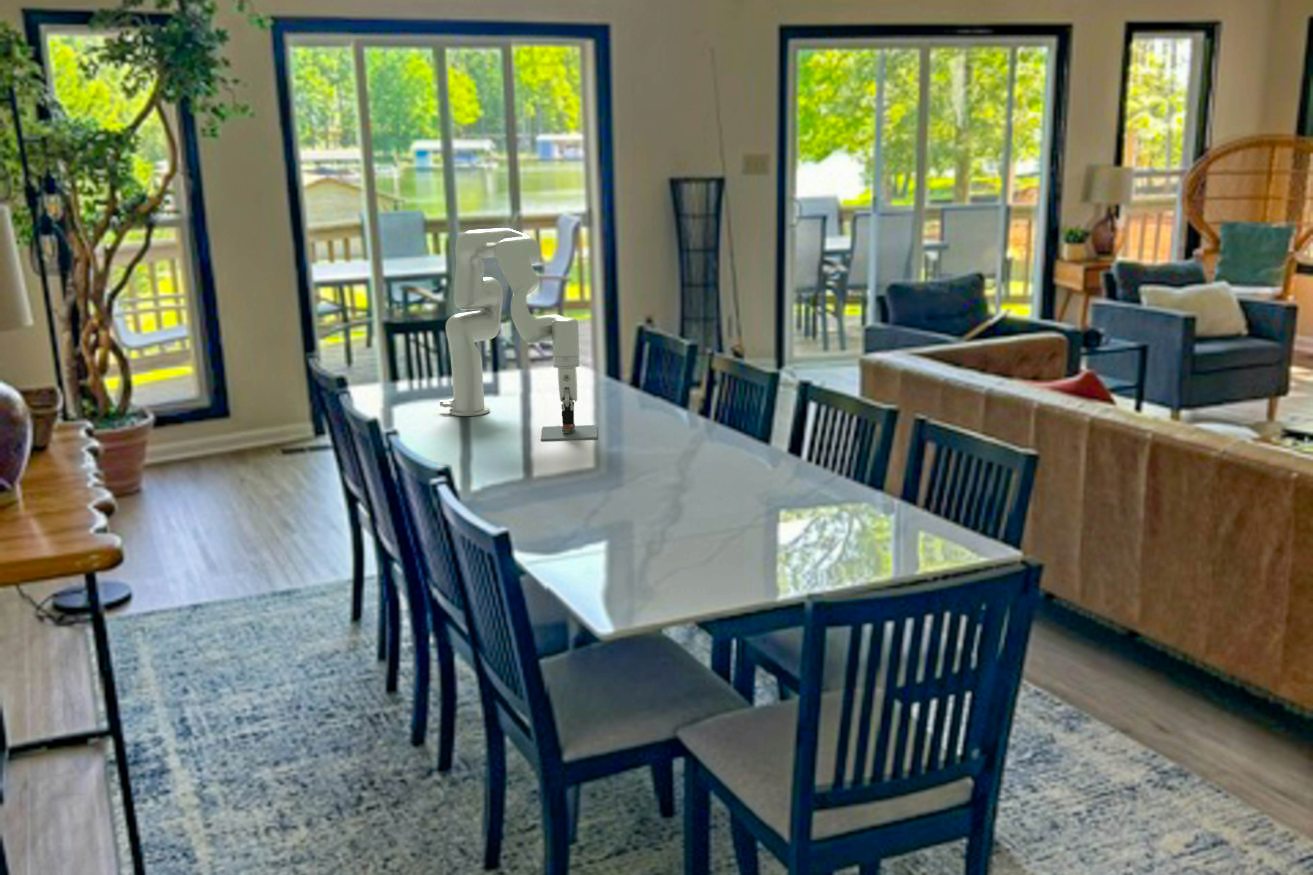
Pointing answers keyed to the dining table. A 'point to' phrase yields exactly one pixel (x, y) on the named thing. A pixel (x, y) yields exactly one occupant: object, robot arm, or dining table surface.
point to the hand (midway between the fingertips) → (568, 420)
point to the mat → (577, 434)
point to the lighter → (568, 427)
